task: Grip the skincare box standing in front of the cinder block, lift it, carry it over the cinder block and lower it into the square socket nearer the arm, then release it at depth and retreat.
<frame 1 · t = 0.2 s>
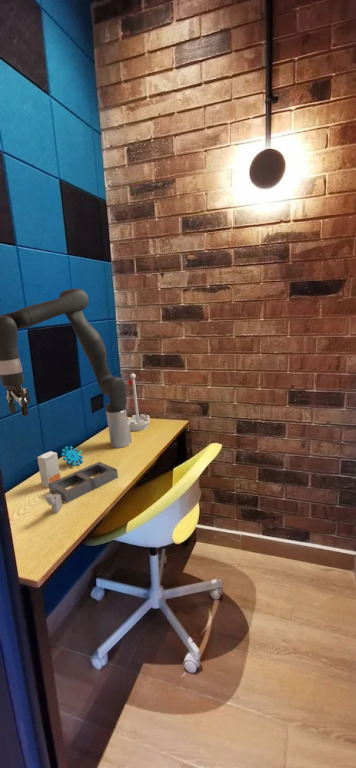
hand: (19, 414, 131), 28 cm above the table, tool pointing down, fingers open, 8 cm apart
grey piece: (55, 512, 115), on the table
blue virus model: (74, 464, 151), on the table
cinder block: (84, 484, 131), on the table
skincare box: (52, 484, 135), on the table
flag stand: (138, 427, 191), on the table
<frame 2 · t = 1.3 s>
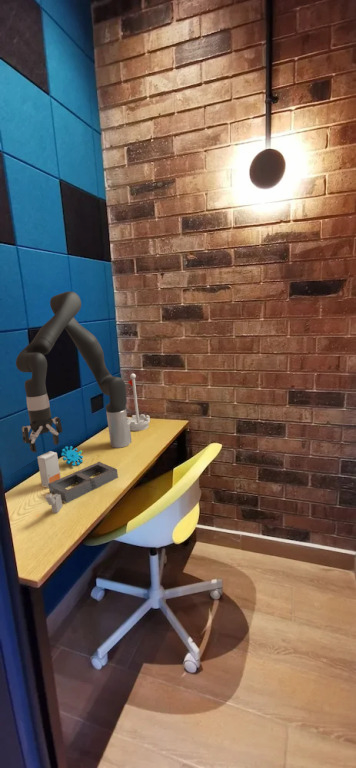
hand: (45, 448, 132), 15 cm above the table, tool pointing down, fingers open, 8 cm apart
nothing on the table moved.
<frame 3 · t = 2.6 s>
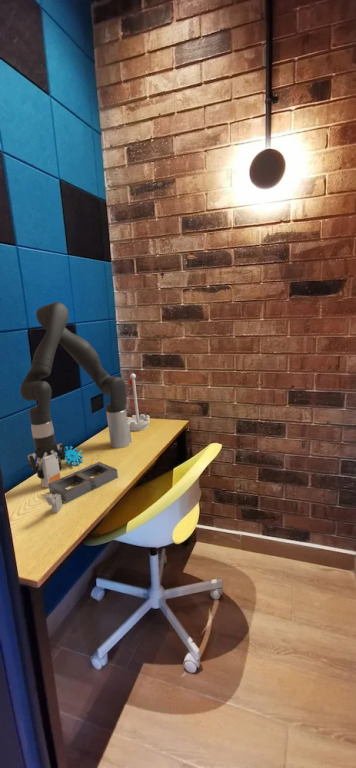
hand: (50, 474, 134), 4 cm above the table, tool pointing down, fingers closed on skincare box, 6 cm apart
skincare box: (52, 484, 135), on the table, touching gripper
everything else where it was.
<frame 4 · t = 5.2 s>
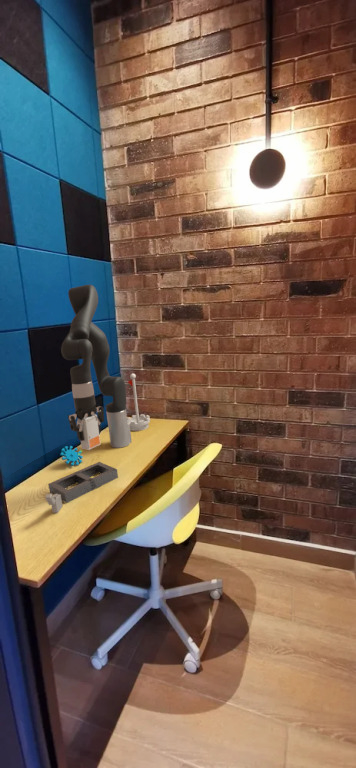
hand: (89, 437, 131), 17 cm above the table, tool pointing down, fingers closed on skincare box, 6 cm apart
skincare box: (91, 447, 132), point 13 cm above the table, touching gripper
everything else where it was.
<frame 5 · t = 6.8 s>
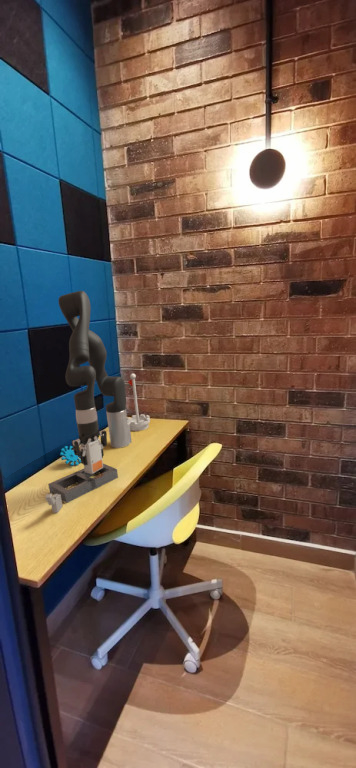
hand: (92, 461, 133), 8 cm above the table, tool pointing down, fingers closed on skincare box, 6 cm apart
skincare box: (94, 470, 134), point 4 cm above the table, touching gripper
everything else where it was.
when the fingers open (5 cm above the table, at t = 8.0 s): skincare box drops 1 cm, resting in cinder block.
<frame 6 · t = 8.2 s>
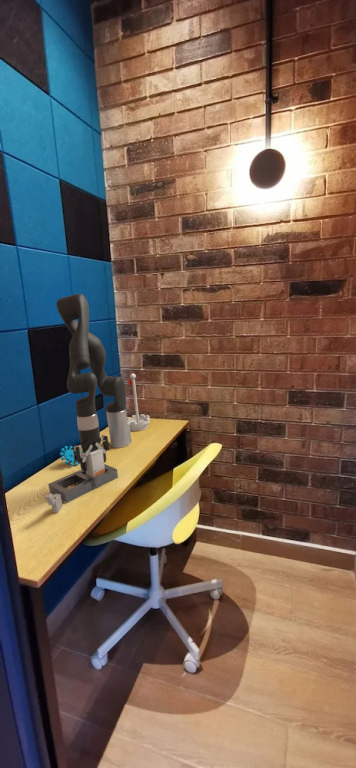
hand: (94, 466, 134), 6 cm above the table, tool pointing down, fingers open, 8 cm apart
skincare box: (96, 479, 135), resting in cinder block
everything else where it was.
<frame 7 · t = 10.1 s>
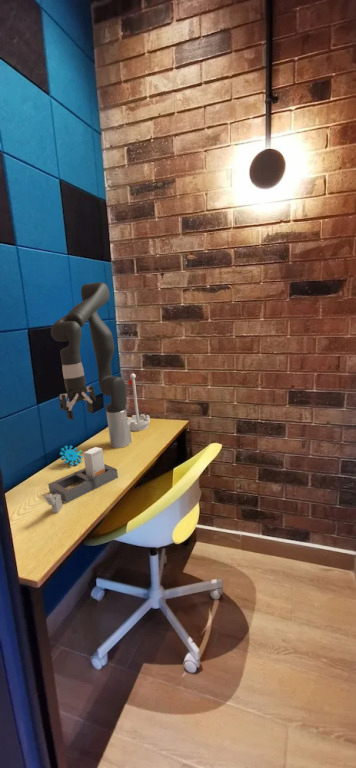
hand: (80, 415, 135), 24 cm above the table, tool pointing down, fingers open, 8 cm apart
nothing on the table moved.
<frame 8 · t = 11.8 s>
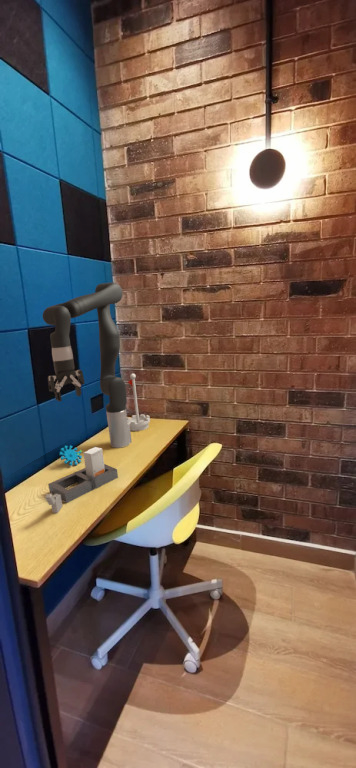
hand: (69, 398, 140), 30 cm above the table, tool pointing down, fingers open, 8 cm apart
at the end: skincare box 0.4 cm from the target spot on the cinder block, point 0.0 cm above the cinder block's base; skincare box tilted 0°; the gripper is holding nothing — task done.
